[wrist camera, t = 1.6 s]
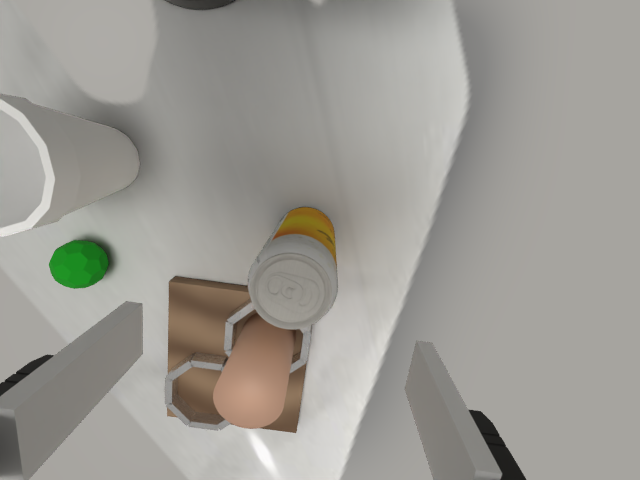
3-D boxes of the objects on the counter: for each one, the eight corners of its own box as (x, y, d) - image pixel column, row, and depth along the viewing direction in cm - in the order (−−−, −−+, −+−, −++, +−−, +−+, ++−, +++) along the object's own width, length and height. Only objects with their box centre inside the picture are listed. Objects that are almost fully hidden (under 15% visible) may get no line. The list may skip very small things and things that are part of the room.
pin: (244, 306, 37) (214, 364, 27) (298, 314, 37) (288, 374, 27) (241, 353, 38) (211, 423, 29) (292, 360, 38) (280, 432, 29)
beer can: (321, 268, 37) (316, 347, 22) (269, 247, 36) (230, 315, 22) (343, 219, 35) (353, 270, 21) (290, 196, 35) (262, 232, 20)
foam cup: (132, 98, 32) (9, 68, 20) (169, 190, 35) (79, 214, 22) (46, 126, 33) (-123, 114, 21) (88, 213, 36) (-42, 250, 23)
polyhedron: (121, 276, 38) (92, 294, 33) (79, 278, 38) (45, 296, 33) (111, 234, 36) (80, 246, 32) (68, 236, 36) (30, 249, 32)
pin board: (175, 276, 37) (169, 281, 36) (316, 295, 38) (315, 301, 36) (172, 406, 42) (167, 416, 41) (297, 423, 42) (296, 432, 41)
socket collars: (172, 283, 36) (166, 289, 35) (315, 303, 36) (314, 309, 35) (170, 413, 41) (164, 423, 39) (296, 430, 41) (295, 440, 39)
